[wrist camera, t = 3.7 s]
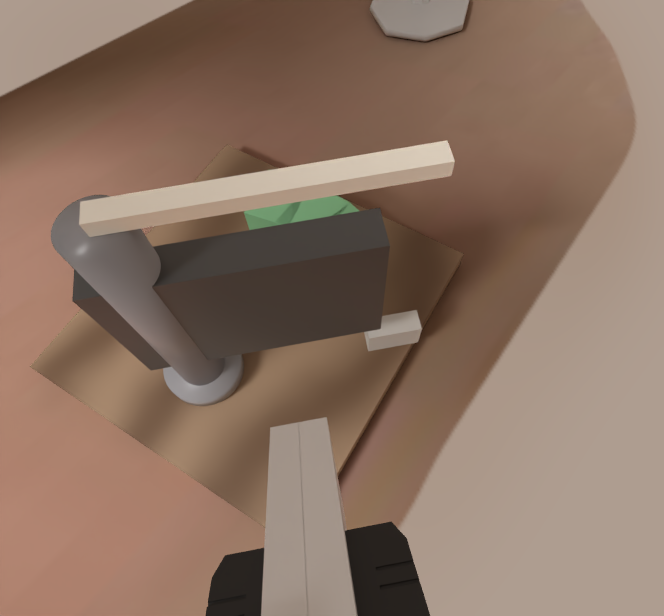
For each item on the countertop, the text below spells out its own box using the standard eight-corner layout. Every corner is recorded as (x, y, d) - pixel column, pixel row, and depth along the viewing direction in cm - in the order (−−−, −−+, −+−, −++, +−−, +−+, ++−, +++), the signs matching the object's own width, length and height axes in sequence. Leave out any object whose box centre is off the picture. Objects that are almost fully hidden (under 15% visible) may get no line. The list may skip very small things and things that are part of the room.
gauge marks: (238, 224, 34) (228, 196, 32) (300, 181, 36) (296, 151, 33) (379, 375, 29) (381, 357, 27) (445, 319, 31) (454, 296, 28)
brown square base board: (40, 373, 32) (29, 366, 30) (230, 155, 39) (226, 144, 38) (296, 548, 27) (294, 547, 26) (460, 263, 34) (463, 253, 33)
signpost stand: (170, 413, 29) (1, 285, 15) (167, 341, 30) (15, 170, 17) (416, 367, 29) (471, 204, 16) (399, 300, 31) (433, 102, 17)
